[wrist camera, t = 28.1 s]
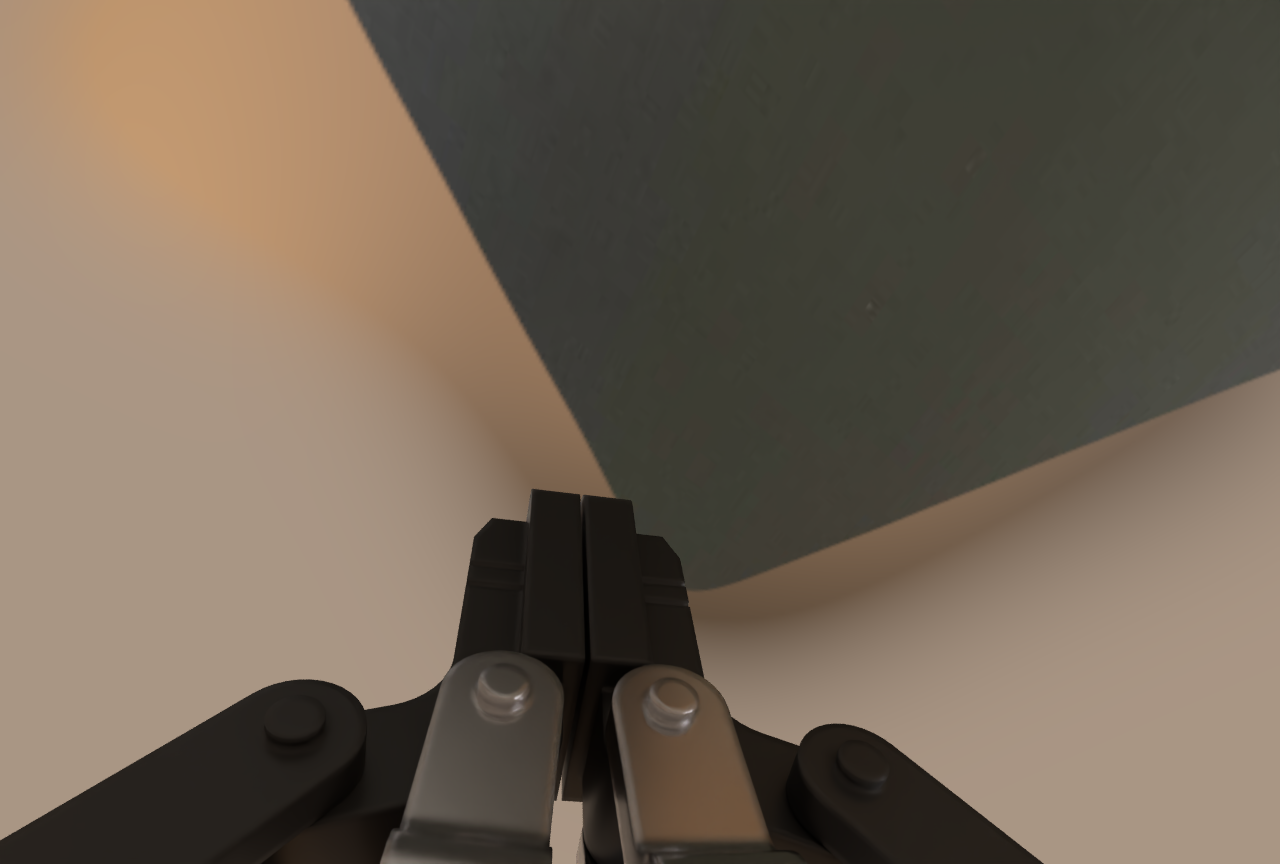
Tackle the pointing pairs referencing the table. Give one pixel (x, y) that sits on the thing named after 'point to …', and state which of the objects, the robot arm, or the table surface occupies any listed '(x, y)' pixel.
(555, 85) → the table surface
